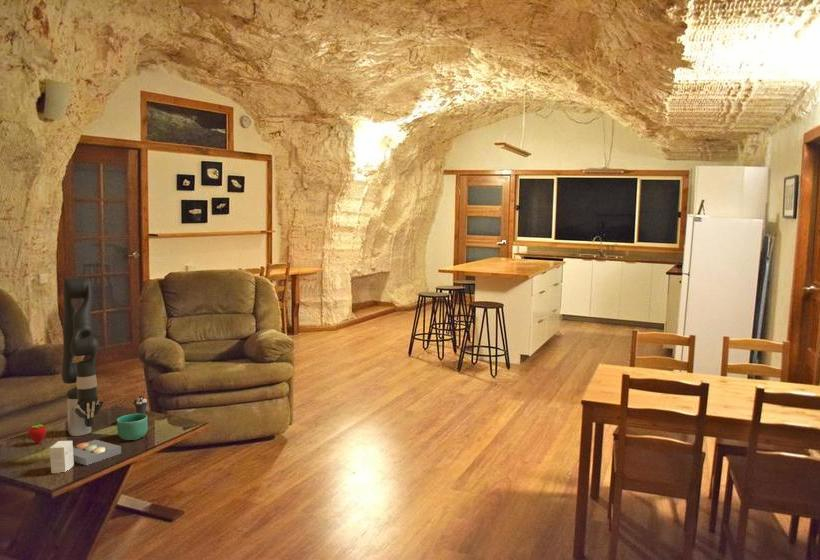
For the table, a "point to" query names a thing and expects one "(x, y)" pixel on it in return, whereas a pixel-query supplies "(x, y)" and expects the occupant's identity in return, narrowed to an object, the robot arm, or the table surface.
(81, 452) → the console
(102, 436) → the table surface
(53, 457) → the small box
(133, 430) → the mug
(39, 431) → the strawberry
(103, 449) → the button cream
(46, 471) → the table surface
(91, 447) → the button sage
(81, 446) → the button terracotta
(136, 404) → the sundae
